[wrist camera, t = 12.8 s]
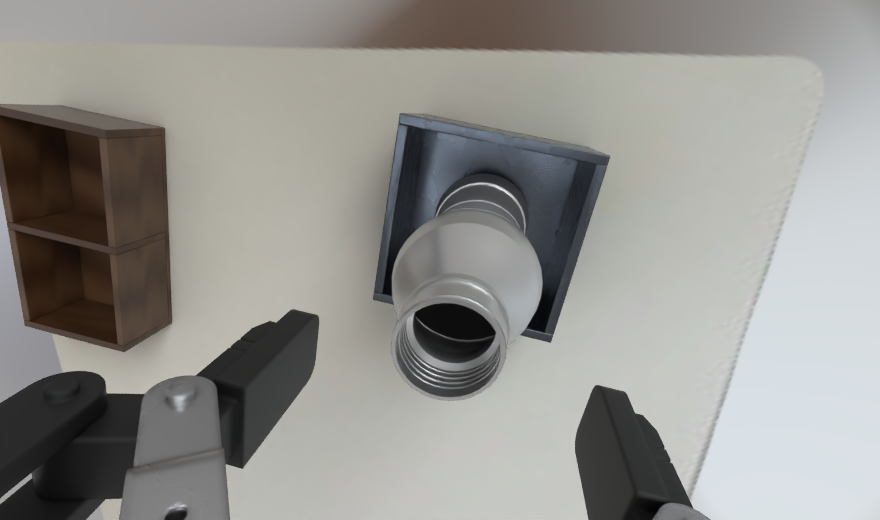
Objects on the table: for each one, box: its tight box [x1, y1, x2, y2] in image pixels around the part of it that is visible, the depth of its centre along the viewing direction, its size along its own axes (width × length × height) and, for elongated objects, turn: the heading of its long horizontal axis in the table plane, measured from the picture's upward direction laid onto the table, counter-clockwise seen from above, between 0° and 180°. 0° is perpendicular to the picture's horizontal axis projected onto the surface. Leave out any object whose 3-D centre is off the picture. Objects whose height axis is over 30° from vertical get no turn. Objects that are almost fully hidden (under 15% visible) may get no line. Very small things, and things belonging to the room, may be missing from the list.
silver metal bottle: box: [391, 174, 543, 401], centre depth 22 cm, size 6×7×20 cm
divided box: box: [0, 104, 172, 352], centre depth 35 cm, size 18×9×5 cm, turn 169°
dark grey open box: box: [373, 113, 610, 342], centre depth 29 cm, size 12×12×7 cm
